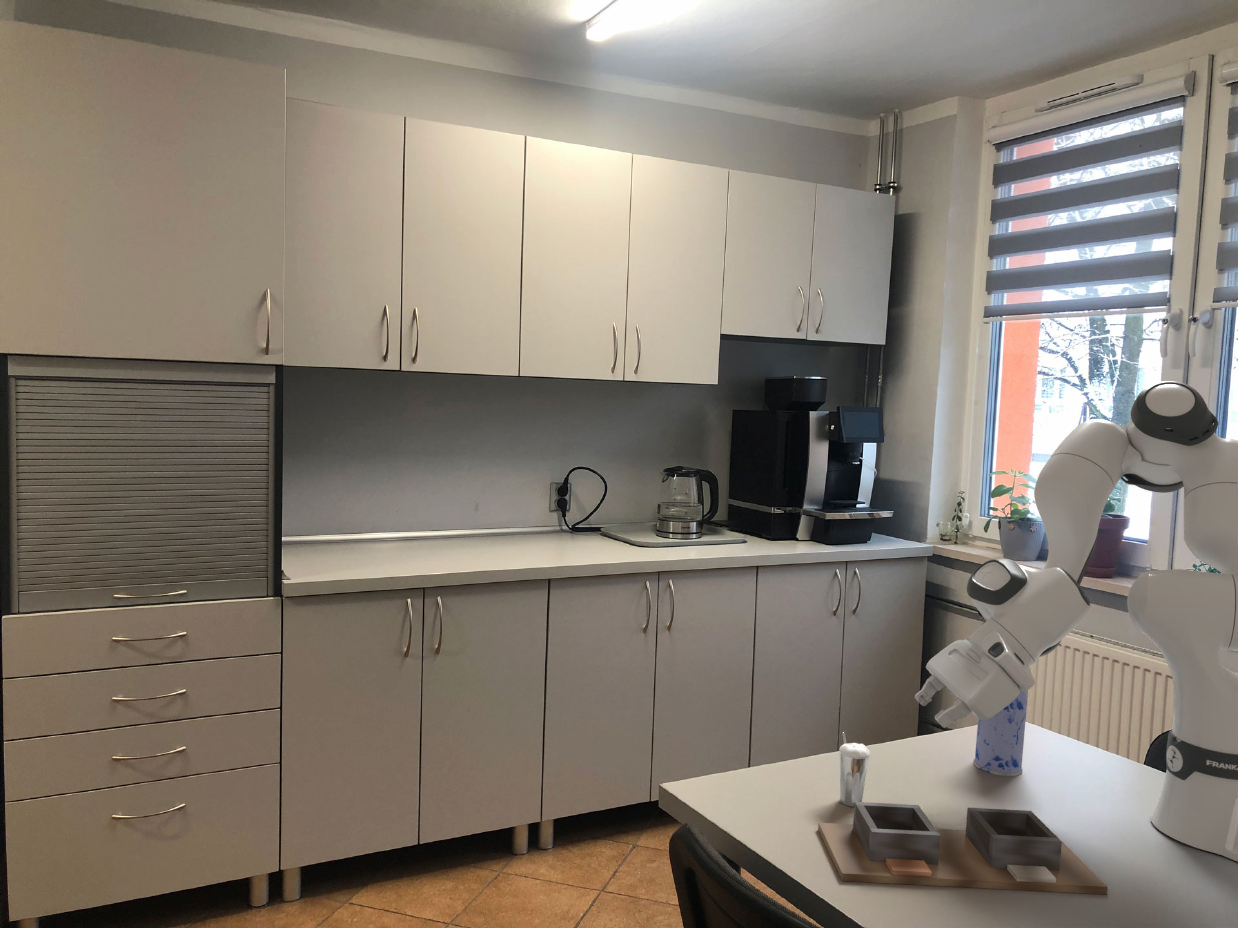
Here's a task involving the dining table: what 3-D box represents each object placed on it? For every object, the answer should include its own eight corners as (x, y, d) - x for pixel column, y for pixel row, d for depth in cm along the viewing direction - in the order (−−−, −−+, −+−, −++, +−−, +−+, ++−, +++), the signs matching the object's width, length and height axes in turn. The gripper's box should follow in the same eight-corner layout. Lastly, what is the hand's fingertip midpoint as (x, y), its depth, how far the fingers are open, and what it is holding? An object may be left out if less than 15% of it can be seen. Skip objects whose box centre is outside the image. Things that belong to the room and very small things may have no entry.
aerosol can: (1005, 757, 162) (1014, 647, 160) (1032, 775, 154) (1041, 660, 152) (964, 758, 160) (973, 646, 159) (989, 776, 153) (998, 659, 151)
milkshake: (851, 792, 143) (855, 730, 143) (872, 806, 138) (876, 742, 138) (826, 795, 142) (831, 732, 141) (847, 810, 137) (851, 745, 136)
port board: (1054, 841, 130) (1057, 807, 130) (1106, 894, 116) (1110, 856, 116) (818, 829, 130) (820, 795, 130) (841, 880, 116) (844, 842, 116)
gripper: (959, 621, 149) (895, 676, 150) (1011, 656, 129) (937, 719, 129) (984, 649, 149) (920, 704, 150) (1040, 688, 129) (965, 752, 130)
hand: (928, 711), depth 140 cm, fingers open, 8 cm apart
